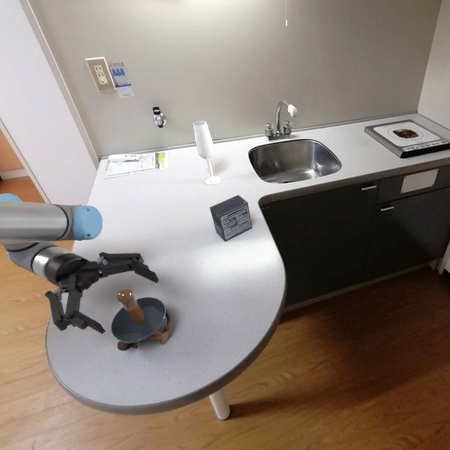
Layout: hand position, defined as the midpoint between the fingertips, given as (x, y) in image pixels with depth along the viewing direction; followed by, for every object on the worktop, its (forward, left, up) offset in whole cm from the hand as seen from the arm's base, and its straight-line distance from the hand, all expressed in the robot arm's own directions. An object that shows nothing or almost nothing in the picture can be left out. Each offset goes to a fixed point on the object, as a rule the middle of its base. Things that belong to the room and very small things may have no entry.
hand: (130, 301), depth 62 cm
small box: (+34, +23, -15) cm, 43 cm away
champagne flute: (+42, +56, -15) cm, 71 cm away
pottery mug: (-1, +1, -15) cm, 15 cm away
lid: (0, +1, -7) cm, 7 cm away
